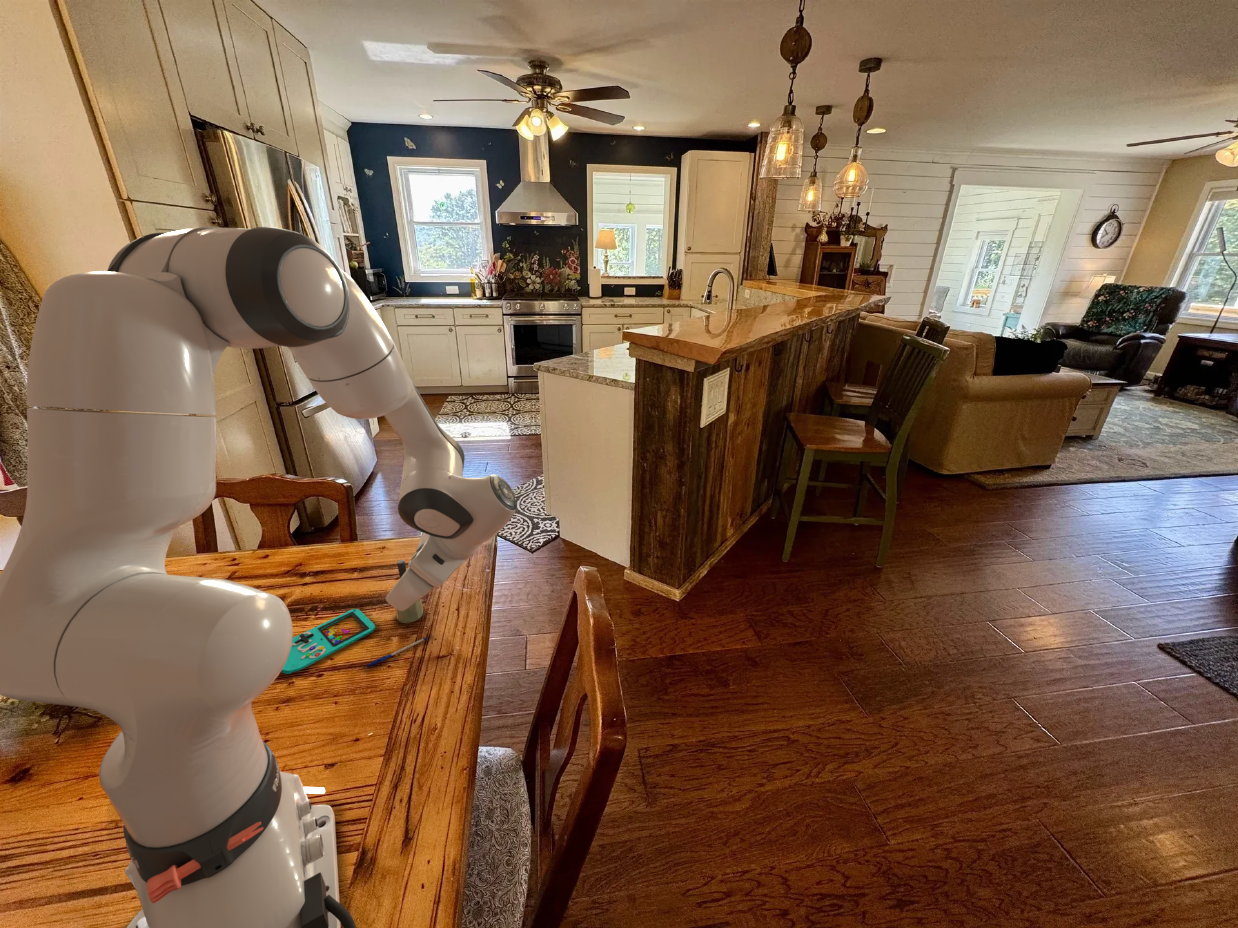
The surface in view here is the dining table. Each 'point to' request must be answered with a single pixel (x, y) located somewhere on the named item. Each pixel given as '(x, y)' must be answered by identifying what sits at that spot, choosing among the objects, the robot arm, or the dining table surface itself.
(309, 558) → the dining table surface
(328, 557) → the dining table surface
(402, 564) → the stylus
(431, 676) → the dining table surface
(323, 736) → the dining table surface
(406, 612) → the green hollow cylinder
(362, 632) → the handheld gaming console
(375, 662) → the ballpoint pen
